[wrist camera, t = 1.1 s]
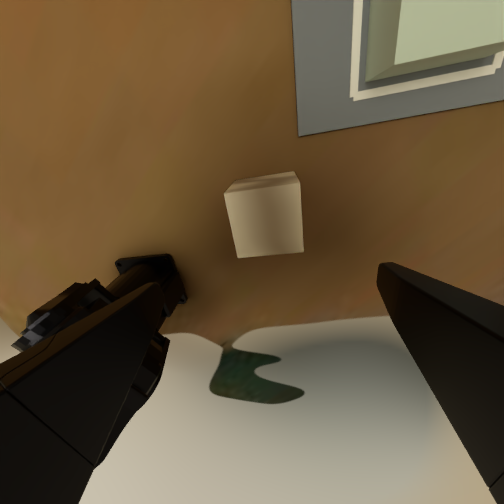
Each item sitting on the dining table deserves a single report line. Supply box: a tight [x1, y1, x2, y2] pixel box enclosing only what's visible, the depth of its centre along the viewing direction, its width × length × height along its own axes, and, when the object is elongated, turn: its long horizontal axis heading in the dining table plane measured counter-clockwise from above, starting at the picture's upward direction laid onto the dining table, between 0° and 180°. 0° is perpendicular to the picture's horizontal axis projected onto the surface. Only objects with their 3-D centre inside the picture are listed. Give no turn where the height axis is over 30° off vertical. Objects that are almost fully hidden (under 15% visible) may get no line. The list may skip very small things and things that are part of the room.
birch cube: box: [224, 171, 304, 258], centre depth 17 cm, size 5×5×5 cm
